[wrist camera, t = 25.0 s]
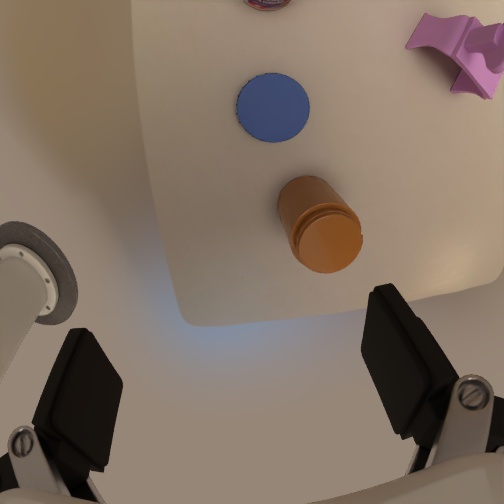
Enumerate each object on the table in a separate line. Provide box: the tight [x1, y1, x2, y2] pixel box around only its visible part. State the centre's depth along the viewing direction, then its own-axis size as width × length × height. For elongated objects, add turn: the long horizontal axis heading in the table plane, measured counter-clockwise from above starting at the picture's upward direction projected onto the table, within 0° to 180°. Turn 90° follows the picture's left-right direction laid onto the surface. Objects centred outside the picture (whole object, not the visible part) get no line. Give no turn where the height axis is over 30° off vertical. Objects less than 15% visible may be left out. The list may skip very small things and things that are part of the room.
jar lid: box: [236, 73, 310, 142], centre depth 27 cm, size 7×7×2 cm
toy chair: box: [406, 13, 504, 100], centre depth 17 cm, size 8×9×15 cm
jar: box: [277, 176, 363, 273], centre depth 29 cm, size 7×7×9 cm
